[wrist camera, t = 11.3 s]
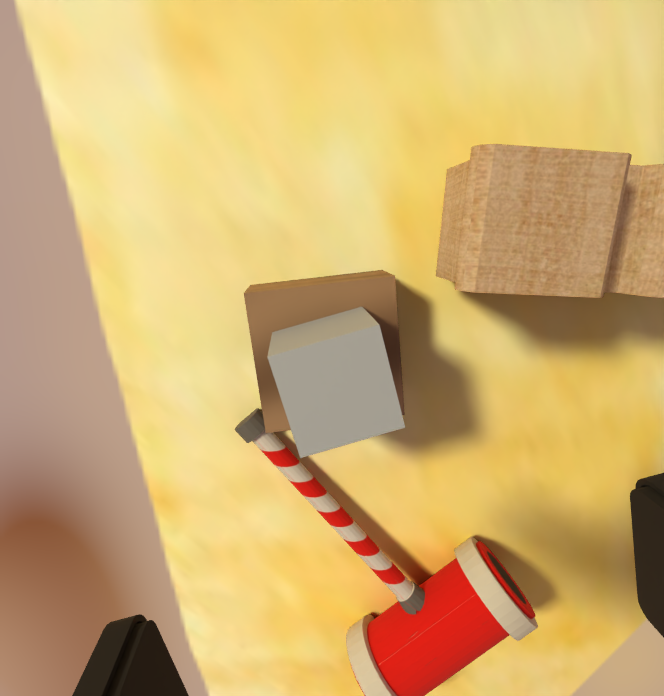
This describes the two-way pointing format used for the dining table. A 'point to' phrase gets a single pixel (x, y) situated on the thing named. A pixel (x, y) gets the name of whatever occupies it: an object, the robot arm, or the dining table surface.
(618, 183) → the toy train
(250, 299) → the walnut block
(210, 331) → the dining table surface
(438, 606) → the toy hammer
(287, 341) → the slate brick
